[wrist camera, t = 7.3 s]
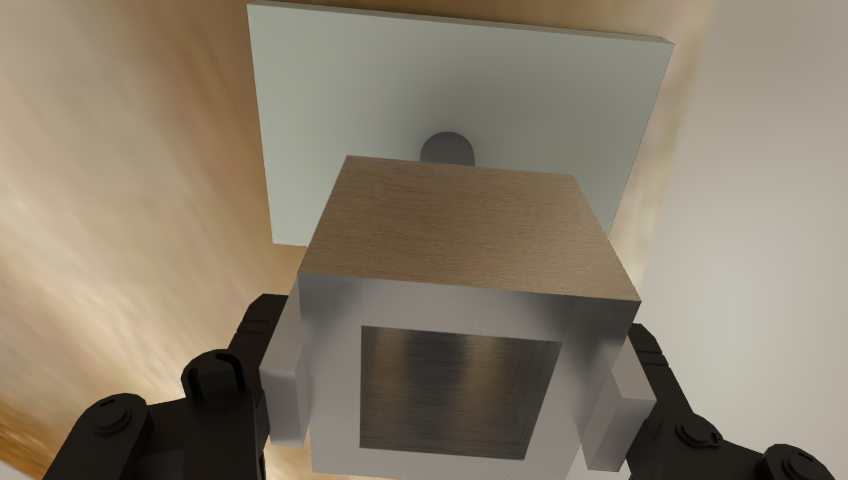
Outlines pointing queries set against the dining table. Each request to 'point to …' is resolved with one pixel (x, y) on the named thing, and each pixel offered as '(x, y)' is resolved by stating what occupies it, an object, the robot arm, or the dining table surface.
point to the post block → (443, 100)
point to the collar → (457, 322)
